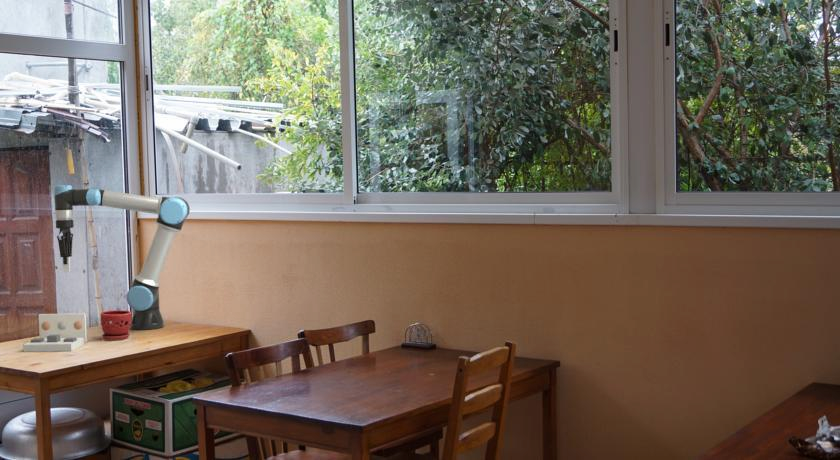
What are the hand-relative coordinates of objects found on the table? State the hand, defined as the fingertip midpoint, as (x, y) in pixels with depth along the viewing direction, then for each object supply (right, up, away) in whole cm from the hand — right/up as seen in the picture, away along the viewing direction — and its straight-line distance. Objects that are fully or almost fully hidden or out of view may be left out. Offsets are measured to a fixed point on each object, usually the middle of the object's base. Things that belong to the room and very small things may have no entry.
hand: (66, 271), depth 423 cm
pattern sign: (+5, -31, -18) cm, 36 cm away
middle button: (+5, -29, -28) cm, 41 cm away
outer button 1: (+12, -30, -28) cm, 43 cm away
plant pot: (+25, -30, -8) cm, 40 cm away
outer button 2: (-2, -30, -28) cm, 41 cm away
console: (+5, -31, -28) cm, 42 cm away
